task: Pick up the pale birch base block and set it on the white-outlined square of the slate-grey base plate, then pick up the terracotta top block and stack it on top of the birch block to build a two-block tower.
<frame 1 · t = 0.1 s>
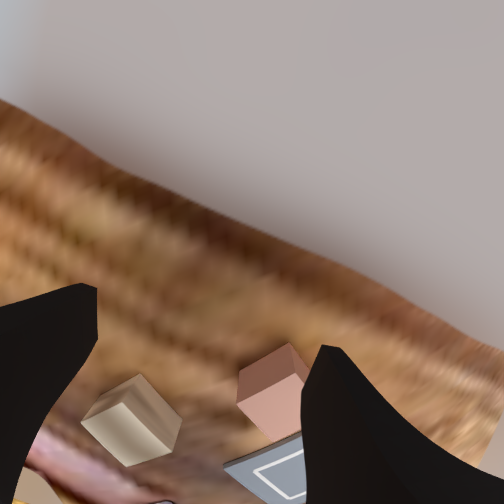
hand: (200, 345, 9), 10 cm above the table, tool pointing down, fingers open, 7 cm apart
top block: (279, 376, 21), on the table
base block: (140, 407, 22), on the table
base plate: (300, 470, 23), on the table
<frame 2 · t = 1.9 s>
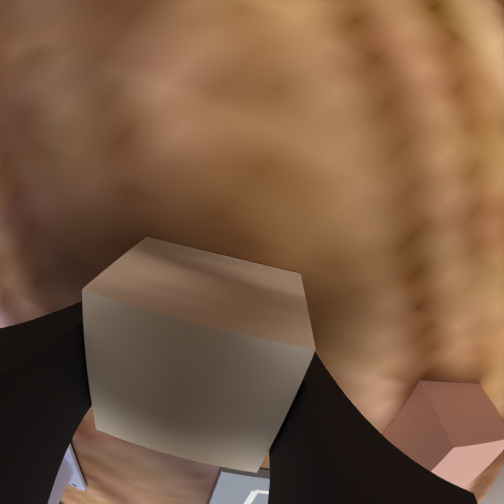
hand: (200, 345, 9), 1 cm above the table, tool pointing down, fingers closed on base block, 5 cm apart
top block: (430, 412, 12), on the table
base block: (208, 322, 11), on the table, touching gripper
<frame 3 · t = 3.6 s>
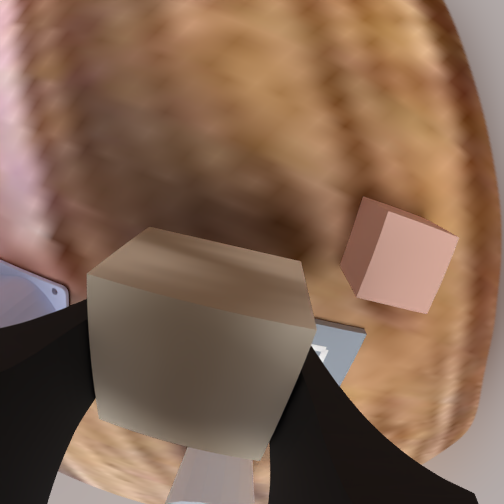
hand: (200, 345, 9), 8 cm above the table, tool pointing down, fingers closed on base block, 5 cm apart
top block: (383, 241, 17), on the table
base block: (210, 311, 11), point 7 cm above the table, touching gripper
grey cylinder: (220, 452, 23), on the table
base plate: (266, 369, 20), on the table
when the fingers open (3 cm above the table, at t = 5.6 s): base block stays where it is, resting on base plate.
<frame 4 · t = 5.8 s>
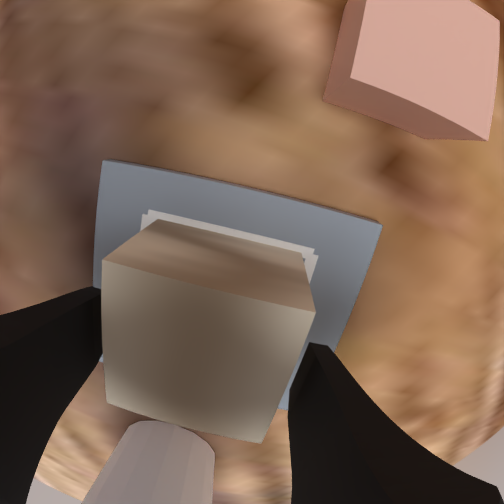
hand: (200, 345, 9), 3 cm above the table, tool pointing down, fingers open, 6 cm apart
top block: (387, 70, 9), on the table
base block: (214, 300, 11), point 1 cm above the table, touching base plate
grey cylinder: (170, 447, 16), on the table
base plate: (215, 300, 12), on the table
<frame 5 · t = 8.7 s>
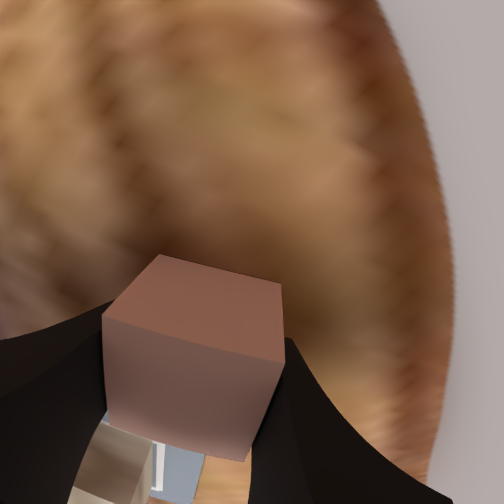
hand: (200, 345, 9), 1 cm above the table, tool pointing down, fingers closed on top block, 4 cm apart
top block: (208, 321, 11), on the table, touching gripper
base block: (109, 449, 13), point 1 cm above the table, touching base plate
base plate: (113, 444, 14), on the table
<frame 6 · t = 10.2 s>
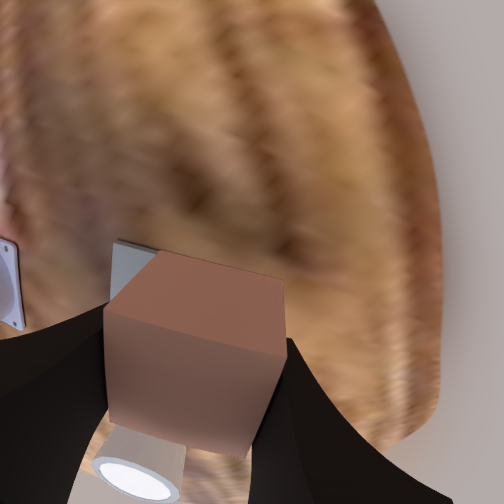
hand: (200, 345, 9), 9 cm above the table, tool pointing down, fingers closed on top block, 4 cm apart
top block: (209, 317, 11), point 8 cm above the table, touching gripper
grey cylinder: (158, 419, 24), on the table
base plate: (182, 323, 20), on the table
when the fingers open (7 cm above the table, at t = 11.6 s): top block stays where it is, resting on base block.
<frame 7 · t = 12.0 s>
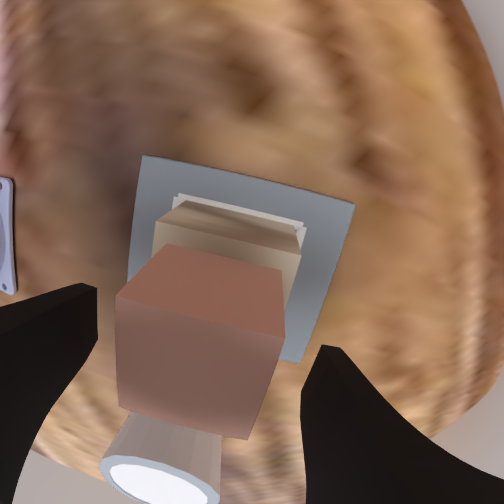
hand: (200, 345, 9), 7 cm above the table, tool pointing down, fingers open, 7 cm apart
top block: (213, 307, 11), point 5 cm above the table, touching base block
base block: (228, 263, 15), point 1 cm above the table, touching base plate, top block
grey cylinder: (183, 405, 19), on the table
base plate: (228, 265, 16), on the table
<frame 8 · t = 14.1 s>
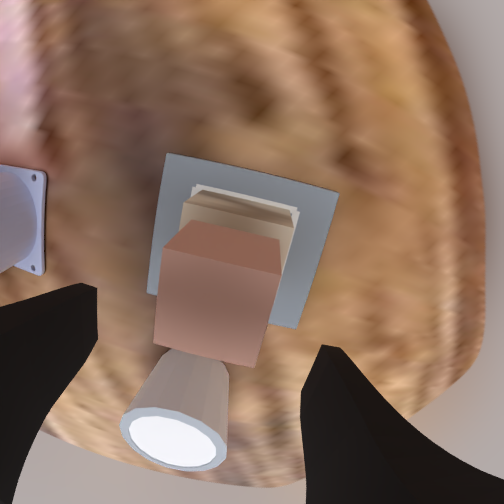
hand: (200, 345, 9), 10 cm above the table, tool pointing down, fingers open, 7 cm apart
top block: (226, 270, 15), point 5 cm above the table, touching base block
base block: (236, 241, 18), point 1 cm above the table, touching base plate, top block
grey cylinder: (193, 373, 23), on the table
base plate: (236, 243, 19), on the table
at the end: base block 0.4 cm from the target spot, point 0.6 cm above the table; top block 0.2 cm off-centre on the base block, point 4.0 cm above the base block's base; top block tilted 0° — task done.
